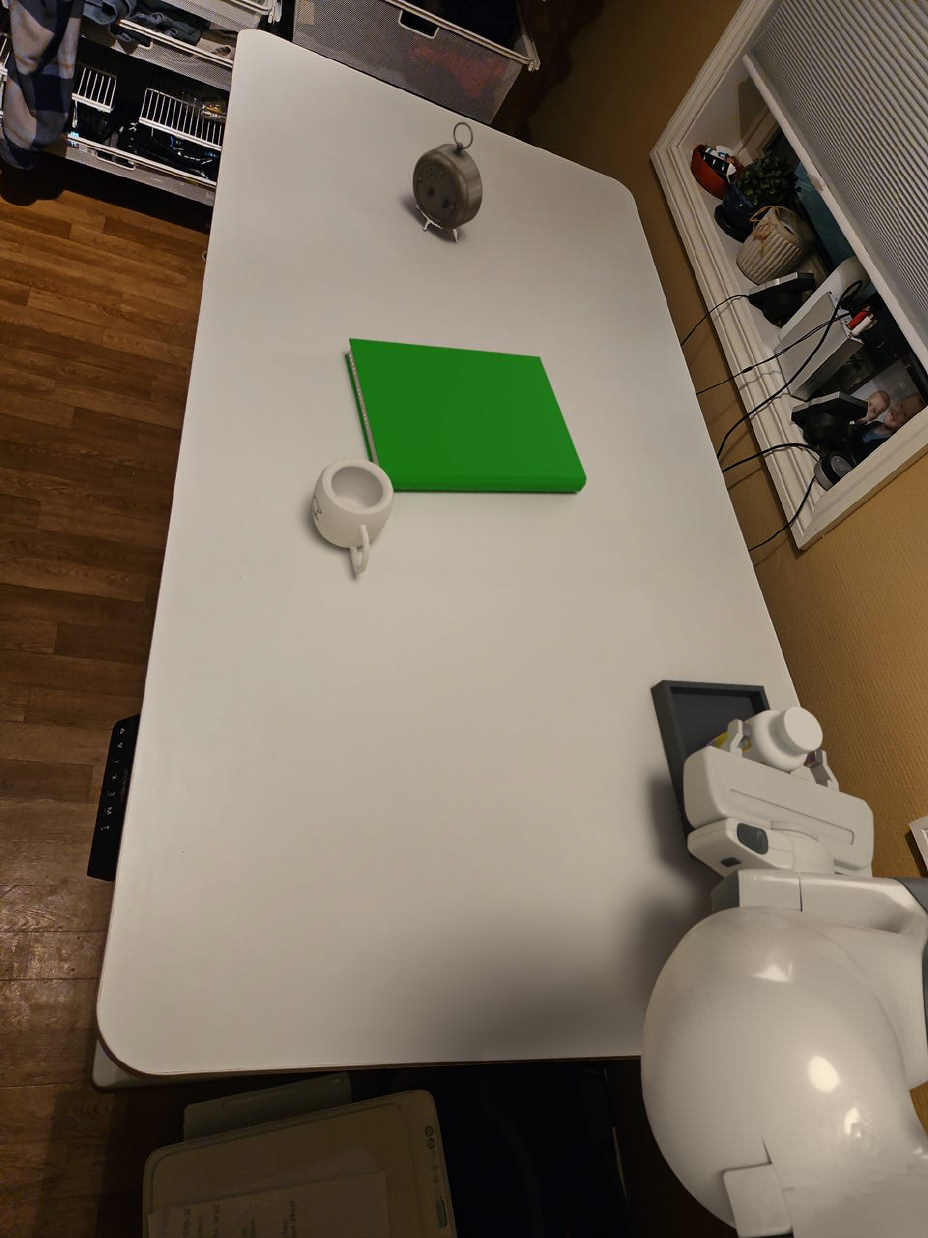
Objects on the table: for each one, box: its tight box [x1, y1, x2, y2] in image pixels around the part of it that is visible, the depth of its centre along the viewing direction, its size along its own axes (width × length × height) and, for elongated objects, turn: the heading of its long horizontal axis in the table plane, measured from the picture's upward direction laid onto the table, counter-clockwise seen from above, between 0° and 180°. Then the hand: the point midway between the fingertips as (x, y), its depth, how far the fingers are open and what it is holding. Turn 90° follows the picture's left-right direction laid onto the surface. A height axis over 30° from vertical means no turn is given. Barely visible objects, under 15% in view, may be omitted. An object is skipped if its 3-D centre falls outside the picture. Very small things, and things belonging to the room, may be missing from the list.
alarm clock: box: [412, 121, 484, 231], centre depth 109 cm, size 11×5×16 cm, turn 51°
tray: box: [650, 679, 792, 860], centre depth 82 cm, size 20×15×3 cm
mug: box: [311, 456, 395, 574], centre depth 78 cm, size 12×8×8 cm
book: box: [344, 337, 588, 493], centre depth 95 cm, size 22×28×3 cm
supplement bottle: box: [706, 706, 824, 773], centre depth 78 cm, size 7×7×13 cm
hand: (776, 736), depth 76 cm, fingers open, 8 cm apart
